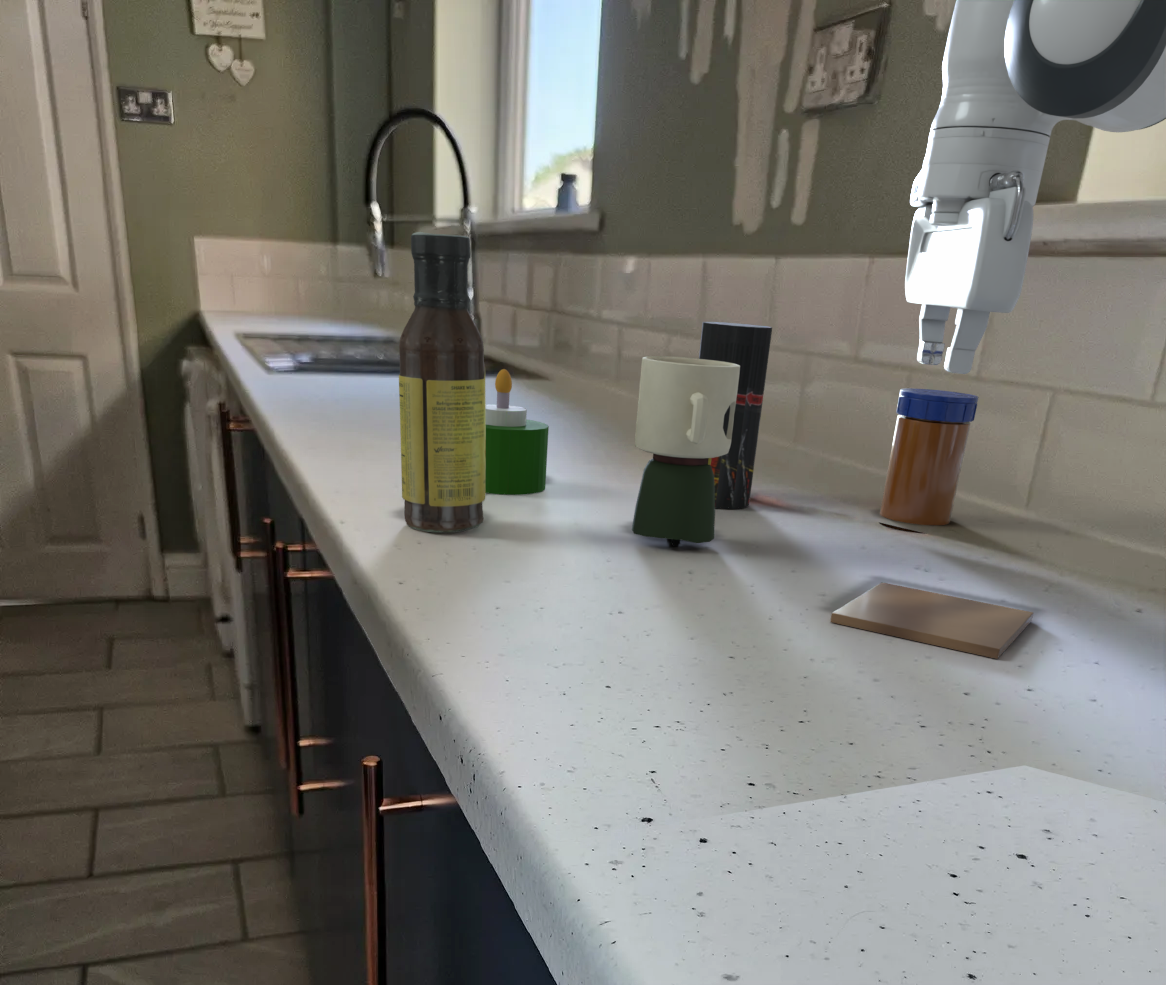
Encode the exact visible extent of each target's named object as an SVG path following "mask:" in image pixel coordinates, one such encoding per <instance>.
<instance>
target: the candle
mask: <svg viewBox="0 0 1166 985" xmlns="http://www.w3.org/2000/svg"><path fill="white" fill-rule="evenodd" d="M494 382H495V383H494V386H495V387H494V388H495V390H496V404H486V456H485V457H486V470H485V494H488V495H489V494H490V495H501V496H502V495H503V496H523V495H535V494H539V493H542V492H544V491H545V490H546V484H547V465H548V464H547V463H548V449H549V448H548V446H549V445H548V444H549V429H550V428H549V427H550V426H549V424H547V423H545V422H542V421H537V420H531V419H527V413H528V408H526V407H523V406H517V405H510V396H511V395H510V393H511V391H512V388H513V381H512V377H511V374H510V371H508V370H507V369H505V368H503V369H500V370H499V372H498V373H497V375H496V378H495V381H494Z"/></svg>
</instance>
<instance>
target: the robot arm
mask: <svg viewBox="0 0 1166 985" xmlns="http://www.w3.org/2000/svg"><path fill="white" fill-rule="evenodd" d="M944 48H945V49H944V53H943V60H942V65H941V71H942V72H941V74H942V94H941V99H940V103H939V106H938V109H937V111H936V113H935V116H934V118H933V120H932V122H931V125H930V129H929V135H928V139H927V146H926V152H925V156H924V158H923V161H922V168H921V169H920V171H919V173H918V174H917V176H916V177H915V179H914V181H913V183H912V188H911V193H910V199H909V204H910V206H911V207H915V208H917V209H916V211H915V213H914V216H913V220H912V224H911V230H910V236H909V245H908V252H907V261H906V270H905V279H904V291H905V292H904V293H905V298H906V299H905V300H906V302H907V303H911V304H916V305H917V304H919V305H921V307H920V313H919V317H918V324H919V328H918V329H919V330H918V331H919V343H918V349H917V354H916V361H917V362H918V363H920V364H922V365H929V366H938V365H939V364H941V363H942V360H943V354H944V350H945V347H946V346H945V345H946V343H944V336H945V330H946V328H945V327H946V322H948V321H949V316H950V312H951V308H952V309H957V311H956V316H955V320H954V325H956V326H955V328H954V333H953V337H952V340H951V344H950V347H947V349H946V353H945V360H944V365H943V367H944V368H943V369H944V370H945V371H946V372H949V373H951V374H959V375H960V374H961V375H966V374H968V373H970V372H971V371H972V368H973V364H974V359H975V355H976V351H977V349H978V347H979V345H980V342H981V341H982V339H983V337H984V334H985V333H986V330H987V328H988V325H989V320H990V314H991V313H998V314H999V313H1001V314H1010V313H1012V312H1013V311H1014V309H1015V307H1016V306H1017V303H1018V301H1019V299H1020V298H1021V297H1020V296H1021V293H1022V290H1023V285H1024V280H1025V275H1026V270H1027V265H1028V264H1027V263H1028V258H1029V253H1030V252H1029V251H1030V246H1031V241H1032V235H1033V226H1034V207H1035V206H1036V202H1037V198H1038V194H1039V190H1040V185H1041V181H1042V177H1043V173H1044V172H1043V171H1044V167H1045V163H1046V159H1047V153H1048V150H1049V144H1050V140H1051V136H1052V132H1053V129H1054V127H1055V126H1056V125H1057V124H1058V123H1059V122H1062V121H1067V120H1068V121H1076V122H1078V123H1080V124H1083V125H1085V126H1089V127H1092V128H1095V129H1098V130H1100V131H1103V132H1109V133H1129V132H1134V131H1140V130H1144V129H1147V128H1150V127H1153V126H1156V125H1157V124H1160V123H1161V122H1163V121H1165V120H1166V0H955V4H954V7H953V12H952V16H951V20H950V25H949V29H948V34H947V39H946V44H945V47H944Z"/></svg>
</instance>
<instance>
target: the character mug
mask: <svg viewBox="0 0 1166 985" xmlns="http://www.w3.org/2000/svg"><path fill="white" fill-rule="evenodd" d="M640 365H641V366H640V378H639V388H638V399H637V410H636V411H637V412H636V423H635V433H634V434H635V435H634V447H636V448H637V449H639V450H641V451H643V452H645V453H648V454H652V458H651V459H649V460H648V462H647V463H646V465H645V467H644V469H643V472H642V476H641V480H640V485H639V490H638V494H637V498H636V501H635V502H636V503H635V506H634V514H633V518H632V523H631V524H632V525H631V531H632V533H633V534H634V535H637V536H641V537H647V538H655V539H667V540H671V545H672V546H673V547H678V546H679V545H680V543H681V541H683V542H689V543H693V544H694V543H695V544H703V543H710V542H711V541H713V540H714V539H715V527H716V508H715V487H714V473H713V470H712V467H711V466H710V465H711V458H714V457H719V456H722V455H725V454H727V453H728V452H729V449H730V446H731V439H732V430H733V421H734V413H735V406H736V398H737V390H738V382H739V373H740V365H737V364H734V363H729V362H722V361H715V360H705V359H699V358H693V357H684V356H667V355H666V356H664V355H663V356H662V355H652V356H643V357H642V359H641V364H640Z"/></svg>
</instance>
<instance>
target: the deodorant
mask: <svg viewBox="0 0 1166 985" xmlns="http://www.w3.org/2000/svg"><path fill="white" fill-rule="evenodd" d="M772 333H773V327H772V326H766V325H759V324H758V325H757V324H748V323H738V322H722V321H702V326H701V335H700V343H699V344H700V345H699V353H698V354H699V355H698V359H705V360H715V361H722V362H729V363H734V364H737V365H740V373H739V382H738V390H737V398H736V406H735V413H734V421H733V430H732V439H731V446H730V449H729V452H728V453H727V454H725V455H722V456H719V457H714V458H711V465H710V466H711V467H712V470H713V473H714V487H715V509H721V510H725V509H726V510H737V509H745V508H748V507H750V501H751V493H752V487H753V486H752V485H753V477H754V471H755V464H756V463H755V462H756V455H757V447H758V441H759V432H760V425H761V424H760V423H761V418H762V409H763V402H764V395H765V386H766V380H767V379H766V378H767V372H768V371H767V370H768V362H769V355H770V348H771V341H772Z"/></svg>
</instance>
